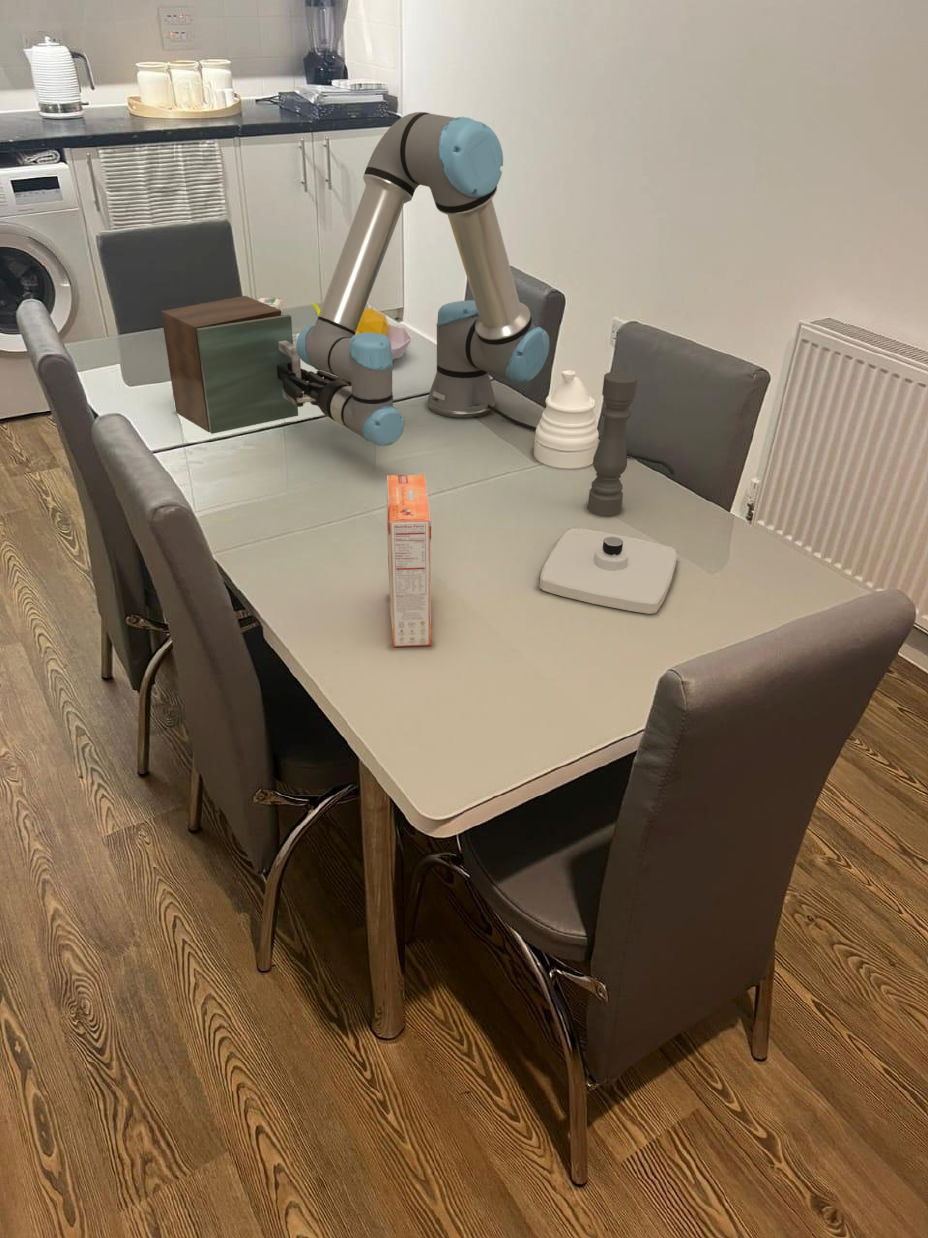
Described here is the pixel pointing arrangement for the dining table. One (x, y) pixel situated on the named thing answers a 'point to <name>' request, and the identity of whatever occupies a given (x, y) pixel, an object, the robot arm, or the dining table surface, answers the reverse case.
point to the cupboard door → (247, 372)
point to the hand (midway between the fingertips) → (284, 370)
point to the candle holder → (612, 445)
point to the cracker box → (409, 559)
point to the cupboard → (186, 349)
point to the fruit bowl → (381, 329)
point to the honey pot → (567, 426)
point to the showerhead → (609, 570)
